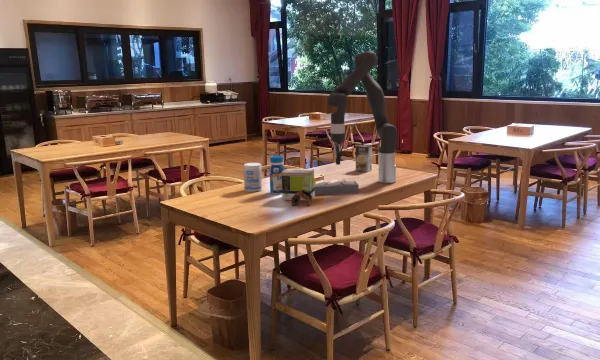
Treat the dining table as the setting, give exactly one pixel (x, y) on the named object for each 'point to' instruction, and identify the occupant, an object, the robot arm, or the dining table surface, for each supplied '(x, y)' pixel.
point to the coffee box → (363, 158)
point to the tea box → (297, 182)
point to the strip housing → (337, 189)
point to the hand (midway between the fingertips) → (338, 164)
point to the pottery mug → (303, 195)
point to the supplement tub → (252, 177)
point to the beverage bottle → (276, 174)
